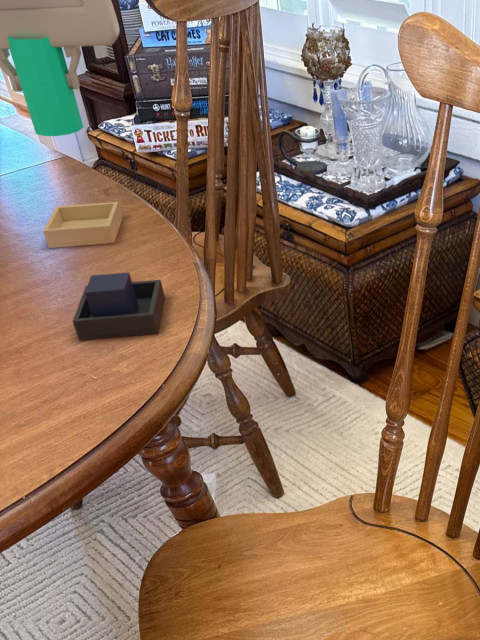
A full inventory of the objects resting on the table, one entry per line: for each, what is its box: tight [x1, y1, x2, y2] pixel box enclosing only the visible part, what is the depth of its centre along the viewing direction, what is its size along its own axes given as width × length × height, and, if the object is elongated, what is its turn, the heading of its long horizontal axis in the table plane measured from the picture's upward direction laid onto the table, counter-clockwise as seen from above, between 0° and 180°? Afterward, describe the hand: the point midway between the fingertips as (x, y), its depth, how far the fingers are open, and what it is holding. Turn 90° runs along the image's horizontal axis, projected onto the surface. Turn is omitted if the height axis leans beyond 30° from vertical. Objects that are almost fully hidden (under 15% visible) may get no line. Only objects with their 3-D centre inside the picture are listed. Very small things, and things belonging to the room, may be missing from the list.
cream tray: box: [42, 201, 123, 249], centre depth 114 cm, size 9×9×2 cm
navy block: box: [85, 271, 139, 317], centre depth 93 cm, size 4×4×4 cm
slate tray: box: [72, 279, 166, 341], centre depth 95 cm, size 9×9×2 cm
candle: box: [7, 37, 84, 137], centre depth 95 cm, size 6×6×12 cm
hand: (47, 89), depth 96 cm, fingers closed on candle, 5 cm apart
